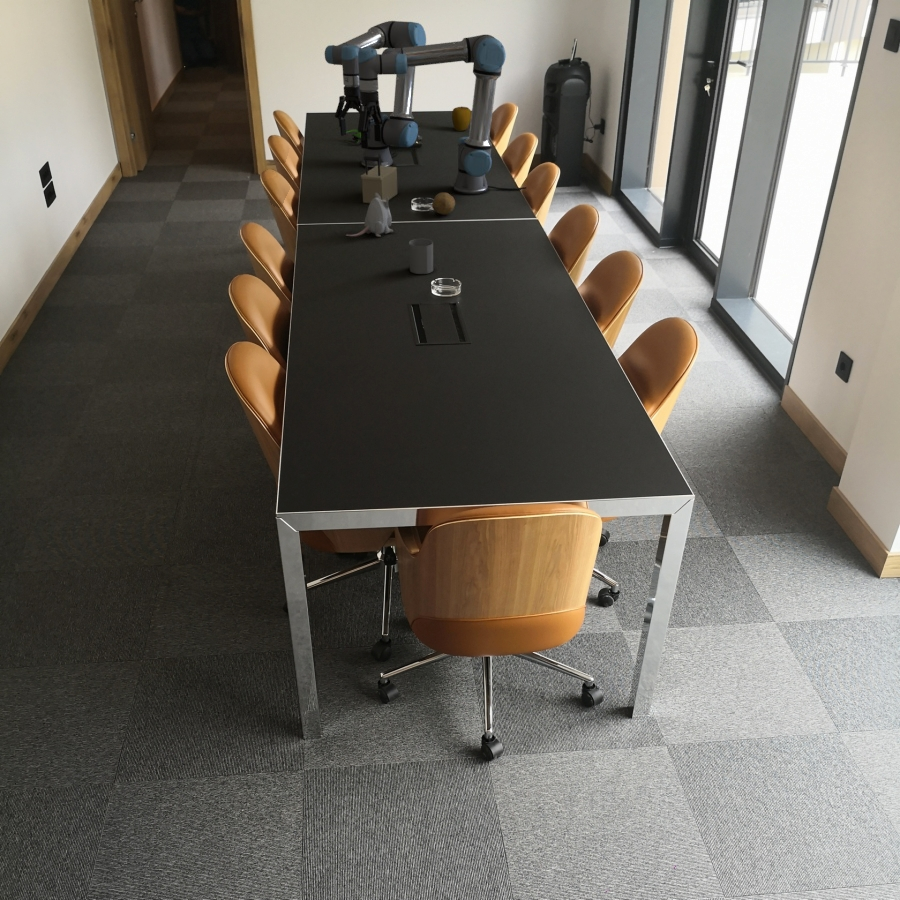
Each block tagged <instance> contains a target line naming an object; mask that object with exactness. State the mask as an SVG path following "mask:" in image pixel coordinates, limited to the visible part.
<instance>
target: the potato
mask: <svg viewBox="0 0 900 900" xmlns="http://www.w3.org/2000/svg"><path fill="white" fill-rule="evenodd" d="M455 206H456V200H455V198H454V196H452V195H451V194H449V193H448V192H439V193H437V194H436V195H435V197H434V198H433V200H432V201H431V207H432V209H433V210H434V212H436V213H437V214H439V215H441V216H442V215H449V214H450V213H452V212H453V211H454V209H455Z"/></svg>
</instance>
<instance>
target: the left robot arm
mask: <svg viewBox="0 0 900 900" xmlns="http://www.w3.org/2000/svg"><path fill="white" fill-rule="evenodd" d="M423 45H427V35H426V31H425V29H424V27H423V25H422V24H421V23H419V22H414V21H403V20H402V21H400V20H388V21H384V22H381V23H379V24H378V23H377V24H376V25H373V26H372V27H370V28H368V30H367V32H364V33H362V34H360V35H357V36H355V37H353V38H350V39H348V40H347V41H345V42H342V43H340V44H337V45H334V44H332V45H327V46H326V47H325V50H324V59H325V61H326V63H328V64H329V65H333V66H336V65H337V66H342V68H341V69H342V81H343V95H339V97H338V104H337V107H336V111H335V114H334V117H335V118H336V119H338V126H339V128H340V136H346V135H347V133H346V132H347V125H346V115H347V114H348V112H349V111H350V109H351V110H356V112H357V113H358V114H359V115H360V106H364V102H362V101H361V100H360V91H361V90H360V84H359V66H358V52H359V50H360V49H365V48H372V49H376V50H380V49H387V48H393V49H397V48H405V47H414V46H423ZM415 76H416V66H413V67H407V73H406V74H400V75H398V74H395V84H394V85H395V87H394V97H393V98H394V100H393V111H392V113H390V115H389V117H388V115H387V114H382V118H383V125H381V141H375V134H374V125H376V124H375V122H374V120H373V118H372V115H371V117H370V118H369V122H368V127H367V131H366V132H367V133H368V149H364V151H363V155H362V159H361V166H362V167H363V168H365V160H364V156H373V157H380V159H381V160H380V166H389V167H393V166H394V161H393V158H394V157H396V156H397V151H396V150H395V151H394V154H392V155H391V152H390V151H391V150H390V147H389V146H394V147H400V148H410V147H412V146H413V145H414V144H415V143H416V141H417V138H418V134H419V127H418V123H417V122H415V117H414V115H413V113H412V111H413V99H414V89H415V78H416V77H415ZM377 165H378V162H375V161H367V166H368V169H370V170H371V169H373V168H374V167H376V166H377Z"/></svg>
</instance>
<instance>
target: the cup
mask: <svg viewBox="0 0 900 900" xmlns="http://www.w3.org/2000/svg"><path fill="white" fill-rule="evenodd" d="M408 253H409V272H411V273H412V274H416V275H426V274H430V273H432V272H434V241H433V240H431V239H428V238H422V237H421V238H420V237H419V238H414V239H411V240H410V241H409V242H408Z"/></svg>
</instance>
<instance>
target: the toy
mask: <svg viewBox="0 0 900 900" xmlns="http://www.w3.org/2000/svg"><path fill="white" fill-rule="evenodd" d="M389 205H390V204H389V200H388V197H387V198H386V201H385V200H381V198H380V196H379V195H378V194H377V193H375V198H374V199H372V200H371V202H370V203H369V205H368V207H367V211H366V215H365V217H364V223H363V225H364V229H362V230H361V231H359V232H358V233H354V234H346V236H348V237H359V236H362V235H363V234H365V233H366V234H371V233H372V234H374V235H375V237H378V238H382V236H381V235H382V234H383V233H384V234H385V235H387V234H389V233H394V230H393V228H390V227H391V226H392V220H393V219H392V218H393V217H392V214H391V211H390V206H389Z"/></svg>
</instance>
